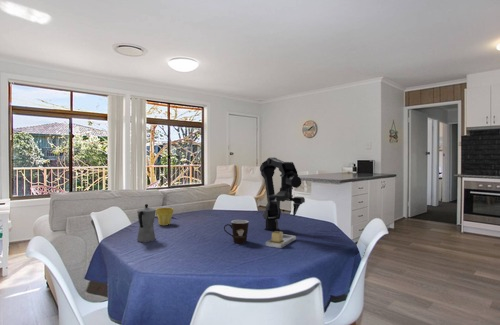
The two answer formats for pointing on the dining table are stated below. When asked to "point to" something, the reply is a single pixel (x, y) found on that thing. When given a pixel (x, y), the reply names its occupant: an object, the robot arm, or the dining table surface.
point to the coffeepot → (146, 224)
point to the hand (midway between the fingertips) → (286, 215)
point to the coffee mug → (239, 230)
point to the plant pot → (164, 215)
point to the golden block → (277, 237)
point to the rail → (286, 240)
